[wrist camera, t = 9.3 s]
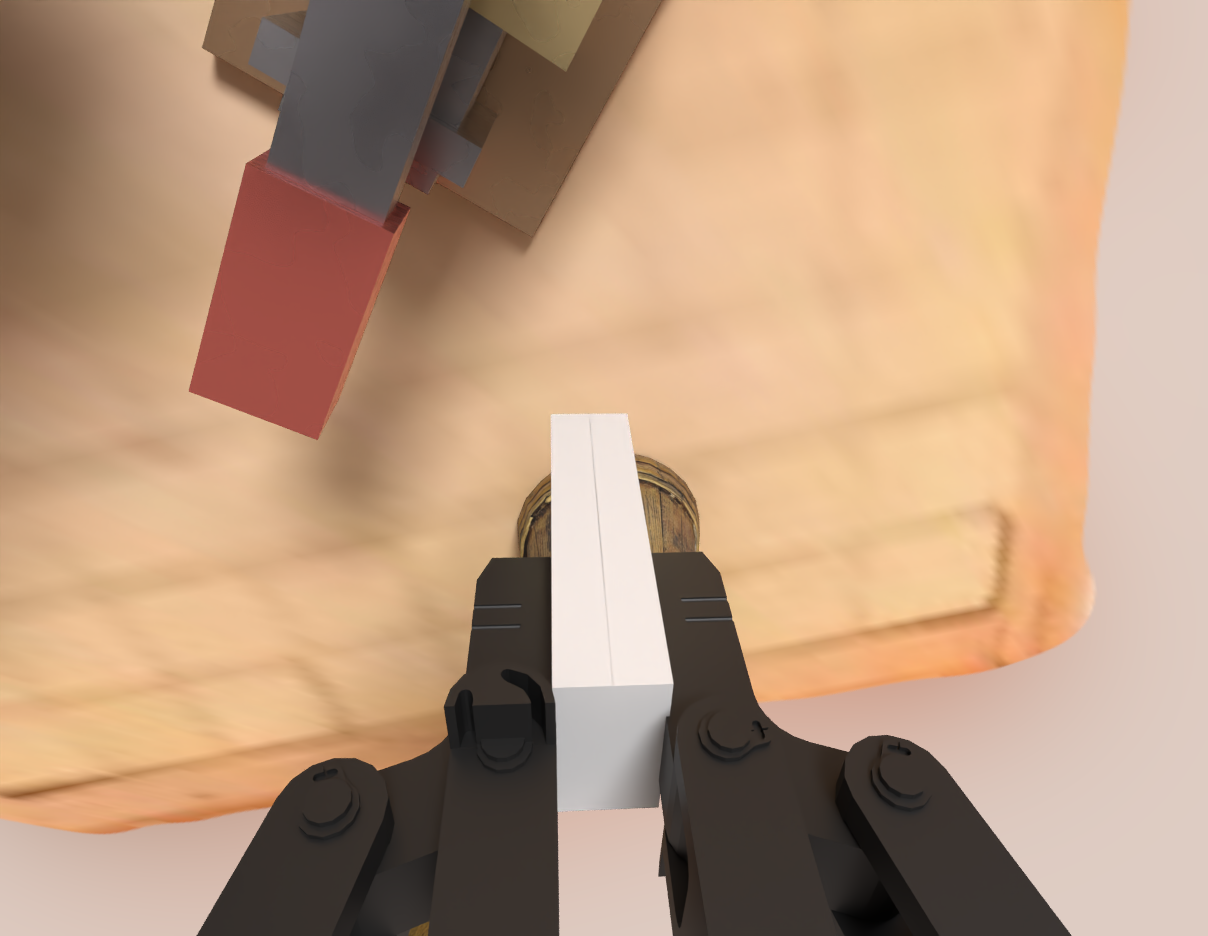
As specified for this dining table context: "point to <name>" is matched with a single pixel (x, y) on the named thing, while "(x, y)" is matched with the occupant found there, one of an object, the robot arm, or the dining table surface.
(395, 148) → the lever
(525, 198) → the valve body
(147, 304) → the dining table surface
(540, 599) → the robot arm
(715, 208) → the dining table surface
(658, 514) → the wooden mug
